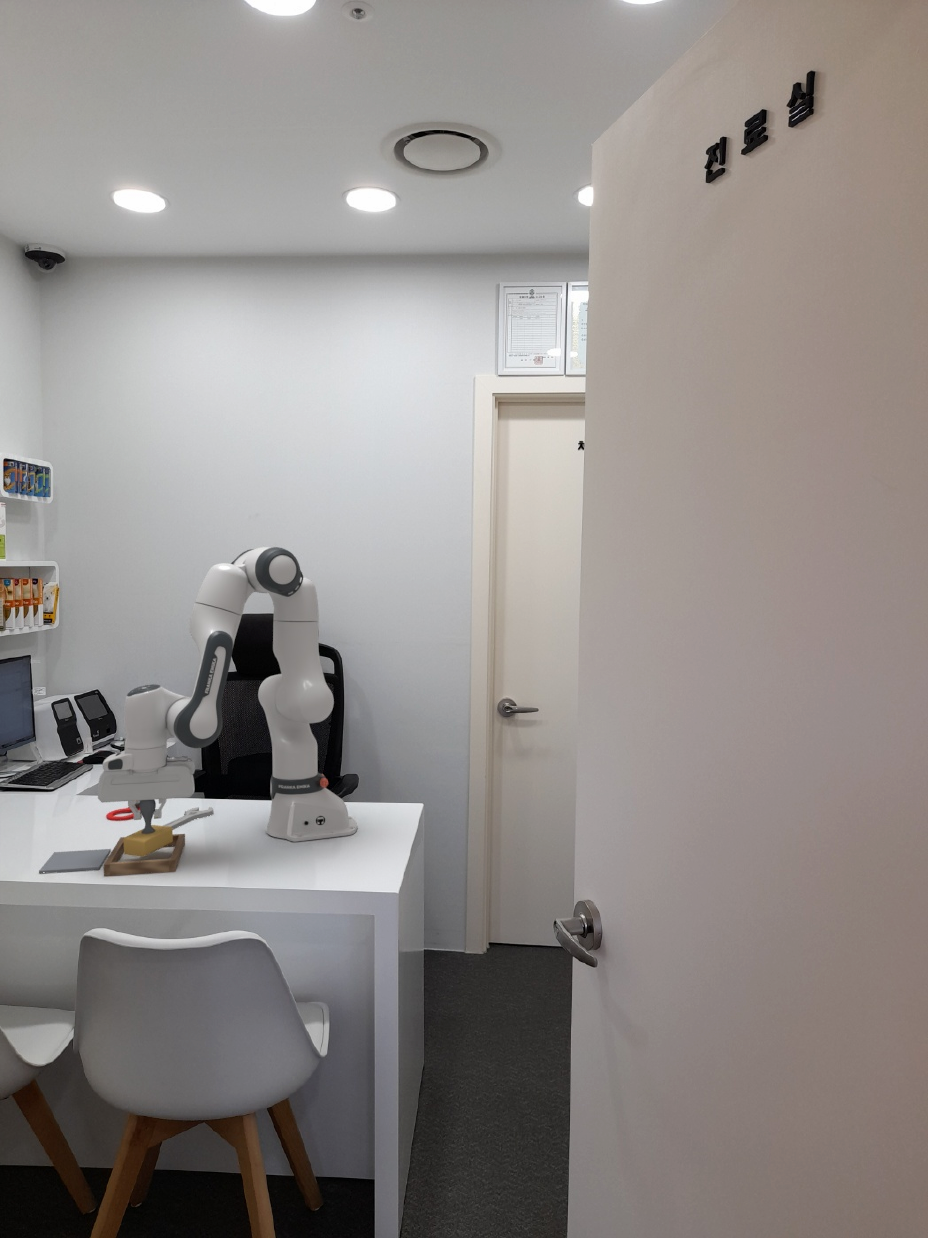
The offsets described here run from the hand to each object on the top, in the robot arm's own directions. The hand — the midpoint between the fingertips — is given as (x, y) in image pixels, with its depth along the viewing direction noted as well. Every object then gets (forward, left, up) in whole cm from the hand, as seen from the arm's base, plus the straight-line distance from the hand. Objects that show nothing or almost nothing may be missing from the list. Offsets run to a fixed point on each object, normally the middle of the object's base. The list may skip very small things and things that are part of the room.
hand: (147, 818), depth 185 cm
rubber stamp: (0, 0, -7) cm, 7 cm away
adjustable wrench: (-3, -26, -10) cm, 28 cm away
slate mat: (+15, -1, -9) cm, 18 cm away
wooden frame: (0, 0, -9) cm, 9 cm away
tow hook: (+11, -36, -10) cm, 39 cm away
